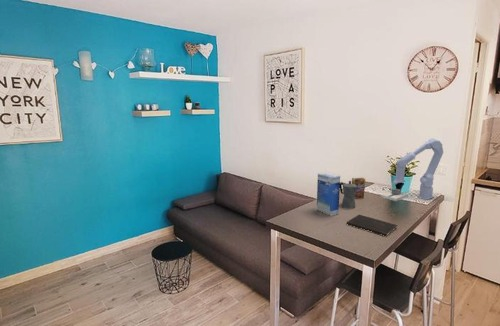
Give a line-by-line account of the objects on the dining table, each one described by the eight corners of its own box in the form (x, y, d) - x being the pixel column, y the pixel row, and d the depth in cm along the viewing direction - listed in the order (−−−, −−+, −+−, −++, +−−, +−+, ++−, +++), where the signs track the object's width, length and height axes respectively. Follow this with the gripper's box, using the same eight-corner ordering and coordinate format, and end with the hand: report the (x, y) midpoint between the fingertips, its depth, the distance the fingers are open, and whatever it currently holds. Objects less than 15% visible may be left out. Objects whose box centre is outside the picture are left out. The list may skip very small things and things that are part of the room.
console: (393, 193, 228) (393, 190, 227) (407, 196, 219) (407, 194, 219) (381, 197, 218) (381, 194, 218) (395, 201, 209) (395, 198, 209)
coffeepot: (360, 207, 199) (362, 182, 195) (352, 210, 194) (353, 184, 190) (342, 201, 211) (344, 177, 207) (334, 203, 206) (335, 179, 202)
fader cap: (394, 192, 222) (394, 188, 222) (400, 194, 218) (401, 189, 218) (391, 193, 220) (391, 188, 219) (397, 195, 216) (398, 190, 215)
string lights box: (339, 214, 187) (341, 175, 182) (330, 216, 183) (332, 177, 178) (323, 208, 198) (325, 171, 193) (315, 210, 194) (317, 173, 189)
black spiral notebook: (358, 217, 182) (359, 214, 182) (397, 228, 166) (397, 225, 165) (346, 225, 171) (346, 221, 171) (386, 238, 155) (386, 234, 155)
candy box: (353, 198, 216) (354, 179, 213) (350, 197, 220) (351, 177, 217) (364, 198, 217) (365, 178, 214) (361, 196, 221) (362, 177, 218)
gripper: (400, 172, 225) (398, 189, 228) (389, 175, 217) (388, 192, 220) (409, 174, 220) (407, 191, 222) (399, 177, 212) (397, 194, 214)
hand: (398, 191), depth 221 cm, fingers closed
